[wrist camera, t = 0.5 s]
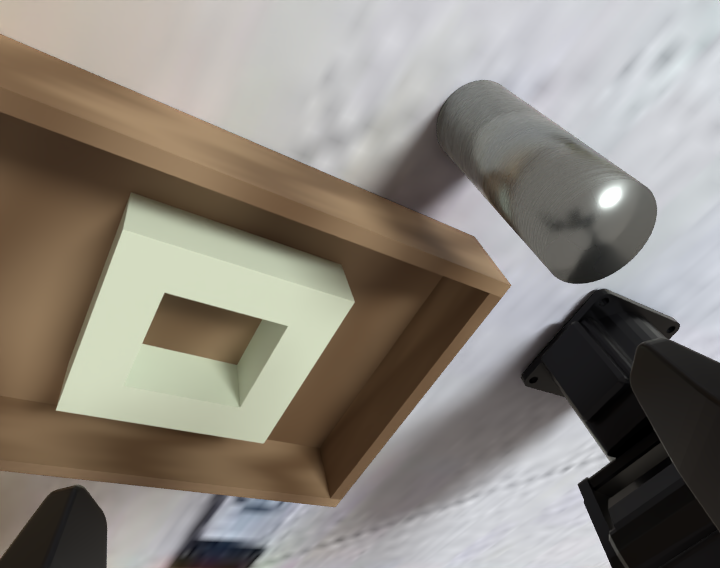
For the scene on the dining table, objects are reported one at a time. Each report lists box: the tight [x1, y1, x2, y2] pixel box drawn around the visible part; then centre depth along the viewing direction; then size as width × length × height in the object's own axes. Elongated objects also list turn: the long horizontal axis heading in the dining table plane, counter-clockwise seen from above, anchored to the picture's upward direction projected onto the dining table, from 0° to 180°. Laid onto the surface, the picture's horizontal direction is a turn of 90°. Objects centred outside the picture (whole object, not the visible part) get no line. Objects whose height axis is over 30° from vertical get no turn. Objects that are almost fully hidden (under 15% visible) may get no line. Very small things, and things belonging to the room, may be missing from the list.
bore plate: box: [56, 192, 355, 444], centre depth 20 cm, size 8×8×2 cm
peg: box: [437, 80, 657, 284], centre depth 17 cm, size 3×3×8 cm
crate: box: [0, 34, 511, 507], centre depth 21 cm, size 18×14×4 cm
